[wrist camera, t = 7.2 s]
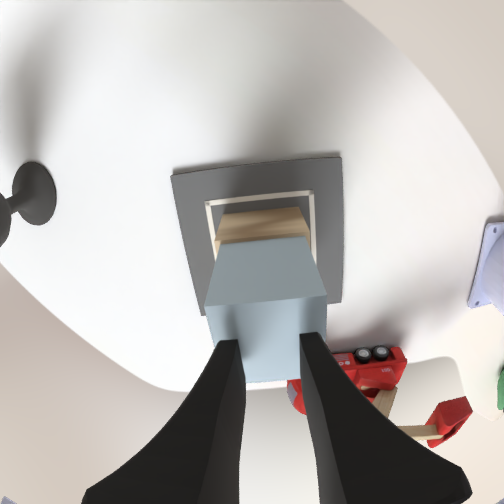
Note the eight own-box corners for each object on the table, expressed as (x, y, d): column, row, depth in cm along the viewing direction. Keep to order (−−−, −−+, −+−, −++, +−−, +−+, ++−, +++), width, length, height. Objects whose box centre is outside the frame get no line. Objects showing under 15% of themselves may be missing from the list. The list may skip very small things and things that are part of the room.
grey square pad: (339, 156, 16) (341, 158, 16) (339, 299, 21) (341, 302, 20) (172, 175, 17) (170, 176, 17) (202, 312, 21) (201, 316, 21)
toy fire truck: (285, 352, 23) (295, 458, 14) (432, 336, 23) (477, 416, 14) (284, 378, 24) (291, 476, 16) (421, 362, 24) (458, 439, 15)
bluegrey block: (307, 305, 16) (323, 375, 11) (232, 312, 16) (224, 384, 11) (304, 235, 14) (327, 295, 9) (220, 244, 14) (203, 306, 10)
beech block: (298, 206, 17) (309, 231, 14) (302, 273, 19) (311, 309, 16) (222, 214, 18) (213, 241, 14) (233, 279, 20) (228, 317, 16)
